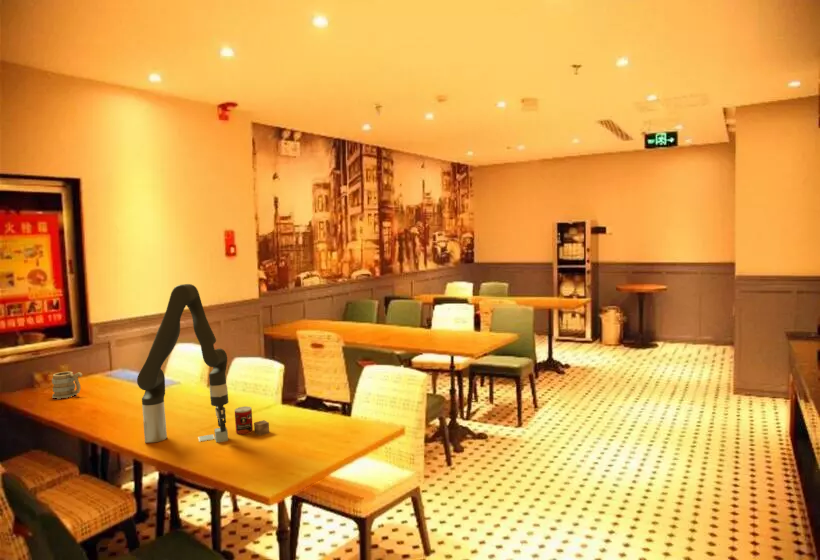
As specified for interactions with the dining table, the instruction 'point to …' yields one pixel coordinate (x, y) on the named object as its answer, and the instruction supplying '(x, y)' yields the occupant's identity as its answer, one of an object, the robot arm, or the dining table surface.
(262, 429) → the walnut block
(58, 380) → the tankard
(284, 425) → the dining table surface
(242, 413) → the canned food
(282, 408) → the dining table surface
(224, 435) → the light grey cube
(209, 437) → the swatch
